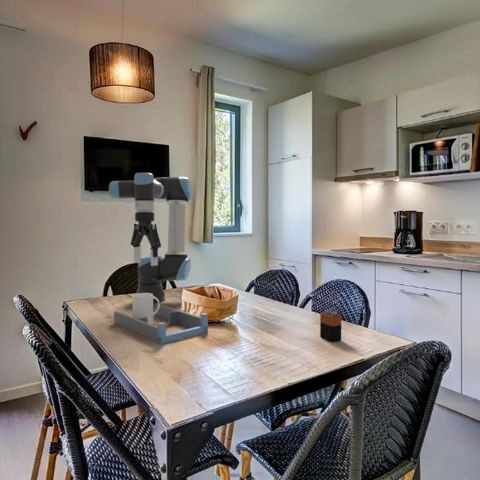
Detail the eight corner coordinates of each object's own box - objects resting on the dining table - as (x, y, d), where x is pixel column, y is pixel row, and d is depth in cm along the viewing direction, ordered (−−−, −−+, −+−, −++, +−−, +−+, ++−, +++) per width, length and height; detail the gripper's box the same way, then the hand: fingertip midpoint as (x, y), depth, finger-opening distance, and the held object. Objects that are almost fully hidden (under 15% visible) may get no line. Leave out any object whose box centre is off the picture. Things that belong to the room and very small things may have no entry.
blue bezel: (205, 331, 150) (204, 312, 149) (207, 332, 148) (207, 313, 148) (158, 343, 136) (157, 323, 135) (161, 344, 135) (160, 324, 134)
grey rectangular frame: (157, 314, 175) (157, 303, 174) (205, 331, 150) (204, 318, 149) (114, 323, 161) (114, 311, 160) (158, 343, 136) (158, 328, 136)
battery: (332, 342, 136) (332, 314, 135) (319, 337, 142) (319, 309, 141) (341, 340, 138) (342, 312, 137) (329, 335, 144) (329, 308, 143)
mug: (156, 318, 168) (155, 290, 168) (164, 323, 161) (164, 294, 161) (129, 323, 162) (128, 294, 161) (137, 327, 155) (136, 297, 154)
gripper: (121, 212, 165) (122, 262, 166) (152, 211, 147) (153, 267, 148) (137, 212, 170) (138, 260, 172) (169, 211, 152) (170, 265, 153)
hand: (145, 264), depth 160 cm, fingers open, 13 cm apart
